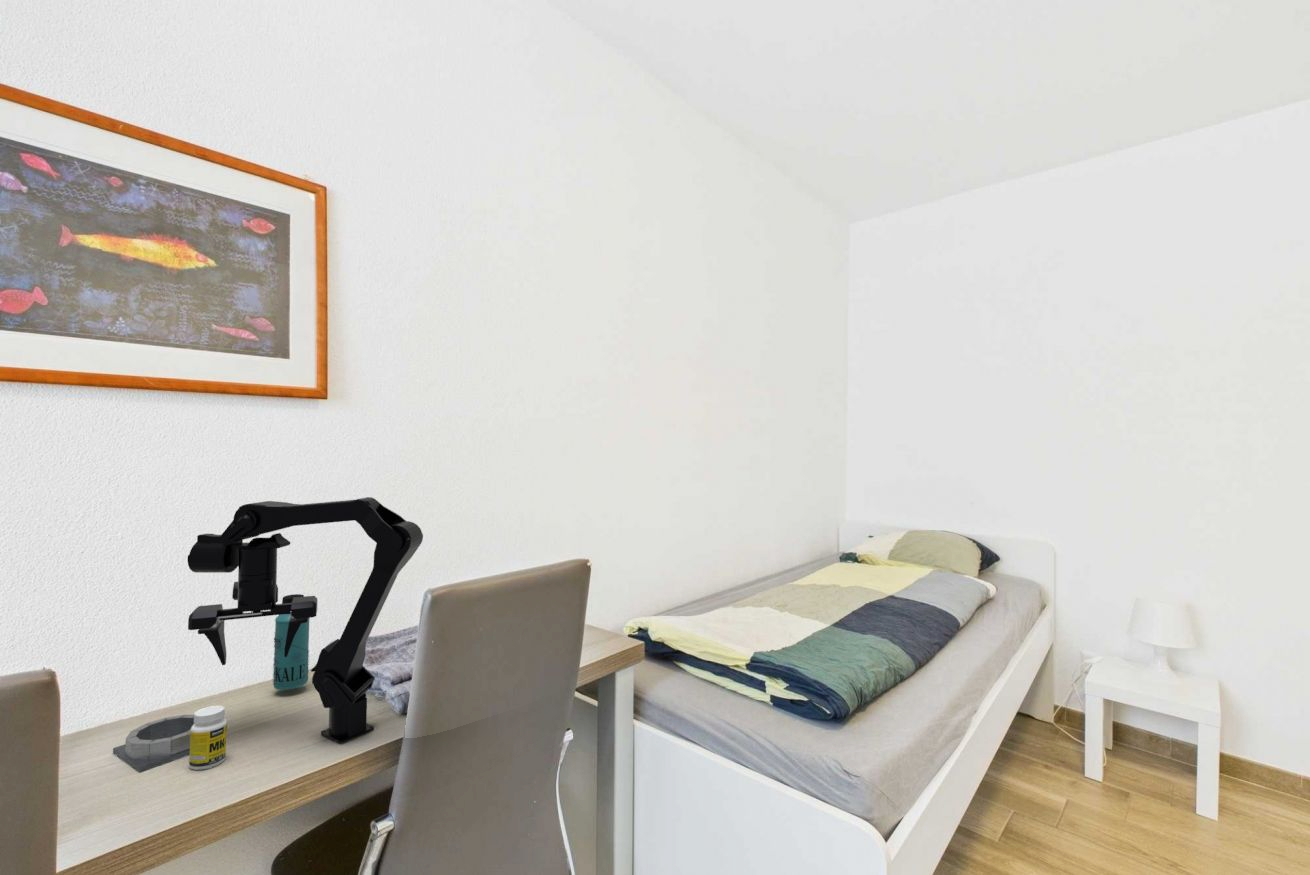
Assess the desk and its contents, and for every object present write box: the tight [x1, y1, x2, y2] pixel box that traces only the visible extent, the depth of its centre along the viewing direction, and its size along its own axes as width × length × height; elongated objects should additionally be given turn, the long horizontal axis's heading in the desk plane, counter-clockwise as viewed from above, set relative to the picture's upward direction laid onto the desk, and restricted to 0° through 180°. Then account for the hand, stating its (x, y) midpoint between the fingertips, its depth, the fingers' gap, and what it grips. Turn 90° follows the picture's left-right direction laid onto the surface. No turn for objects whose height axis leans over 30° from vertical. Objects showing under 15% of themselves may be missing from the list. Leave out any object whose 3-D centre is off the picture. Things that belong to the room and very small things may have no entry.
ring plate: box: [112, 714, 195, 773], centre depth 100 cm, size 11×11×3 cm
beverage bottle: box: [272, 593, 310, 691], centre depth 124 cm, size 6×7×20 cm
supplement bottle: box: [188, 705, 228, 771], centre depth 96 cm, size 5×5×8 cm
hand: (255, 660), depth 106 cm, fingers open, 9 cm apart
